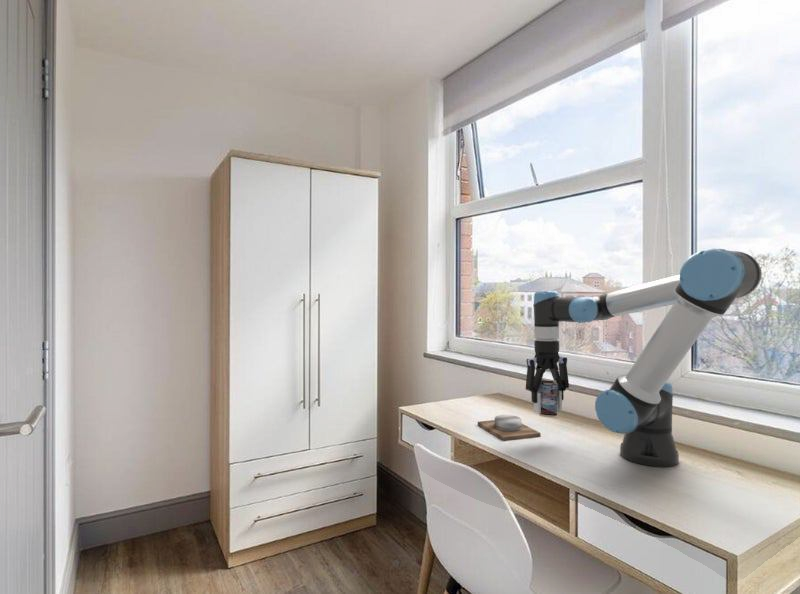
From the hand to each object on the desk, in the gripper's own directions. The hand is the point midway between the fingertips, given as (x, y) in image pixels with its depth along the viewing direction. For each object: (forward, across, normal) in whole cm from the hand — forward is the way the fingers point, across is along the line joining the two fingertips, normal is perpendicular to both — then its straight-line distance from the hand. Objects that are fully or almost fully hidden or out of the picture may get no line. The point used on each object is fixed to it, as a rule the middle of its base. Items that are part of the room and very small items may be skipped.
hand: (547, 411), depth 150 cm
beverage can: (+2, 0, 0) cm, 2 cm away
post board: (+10, +5, -16) cm, 19 cm away
